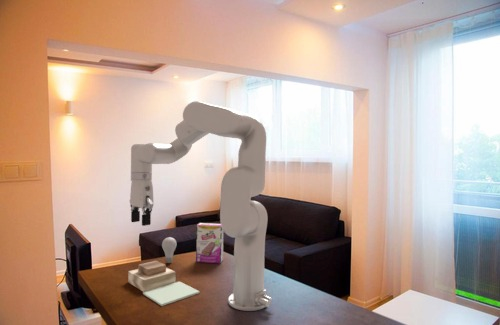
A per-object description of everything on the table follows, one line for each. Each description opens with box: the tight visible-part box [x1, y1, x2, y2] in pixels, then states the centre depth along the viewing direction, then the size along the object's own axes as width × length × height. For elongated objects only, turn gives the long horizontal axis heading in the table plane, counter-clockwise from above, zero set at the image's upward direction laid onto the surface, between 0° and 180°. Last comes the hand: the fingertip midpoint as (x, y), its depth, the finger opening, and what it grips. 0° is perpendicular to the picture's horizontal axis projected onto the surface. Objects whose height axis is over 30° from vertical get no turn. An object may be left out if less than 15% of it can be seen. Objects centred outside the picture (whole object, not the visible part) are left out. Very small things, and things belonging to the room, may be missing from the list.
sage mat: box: [142, 281, 201, 307], centre depth 106 cm, size 12×14×1 cm
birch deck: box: [127, 267, 177, 293], centre depth 116 cm, size 12×12×4 cm
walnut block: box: [137, 260, 167, 276], centre depth 115 cm, size 7×7×2 cm
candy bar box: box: [195, 222, 225, 264], centre depth 140 cm, size 11×5×16 cm, turn 84°
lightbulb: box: [161, 236, 177, 264], centre depth 137 cm, size 6×6×11 cm
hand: (140, 223), depth 122 cm, fingers open, 7 cm apart
